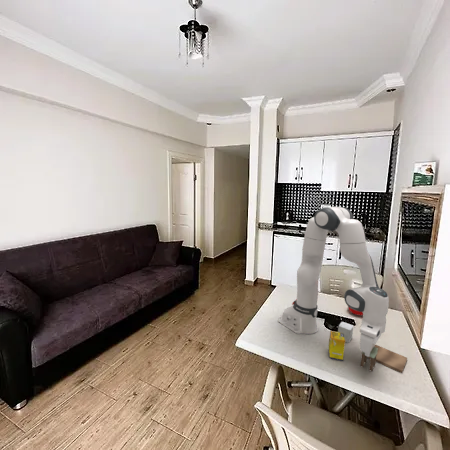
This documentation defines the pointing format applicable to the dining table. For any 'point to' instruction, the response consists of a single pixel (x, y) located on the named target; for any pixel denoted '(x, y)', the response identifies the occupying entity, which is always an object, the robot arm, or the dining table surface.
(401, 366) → the walnut board
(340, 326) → the product box
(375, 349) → the stool
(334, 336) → the supplement box
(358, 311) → the tomato
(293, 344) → the dining table surface
